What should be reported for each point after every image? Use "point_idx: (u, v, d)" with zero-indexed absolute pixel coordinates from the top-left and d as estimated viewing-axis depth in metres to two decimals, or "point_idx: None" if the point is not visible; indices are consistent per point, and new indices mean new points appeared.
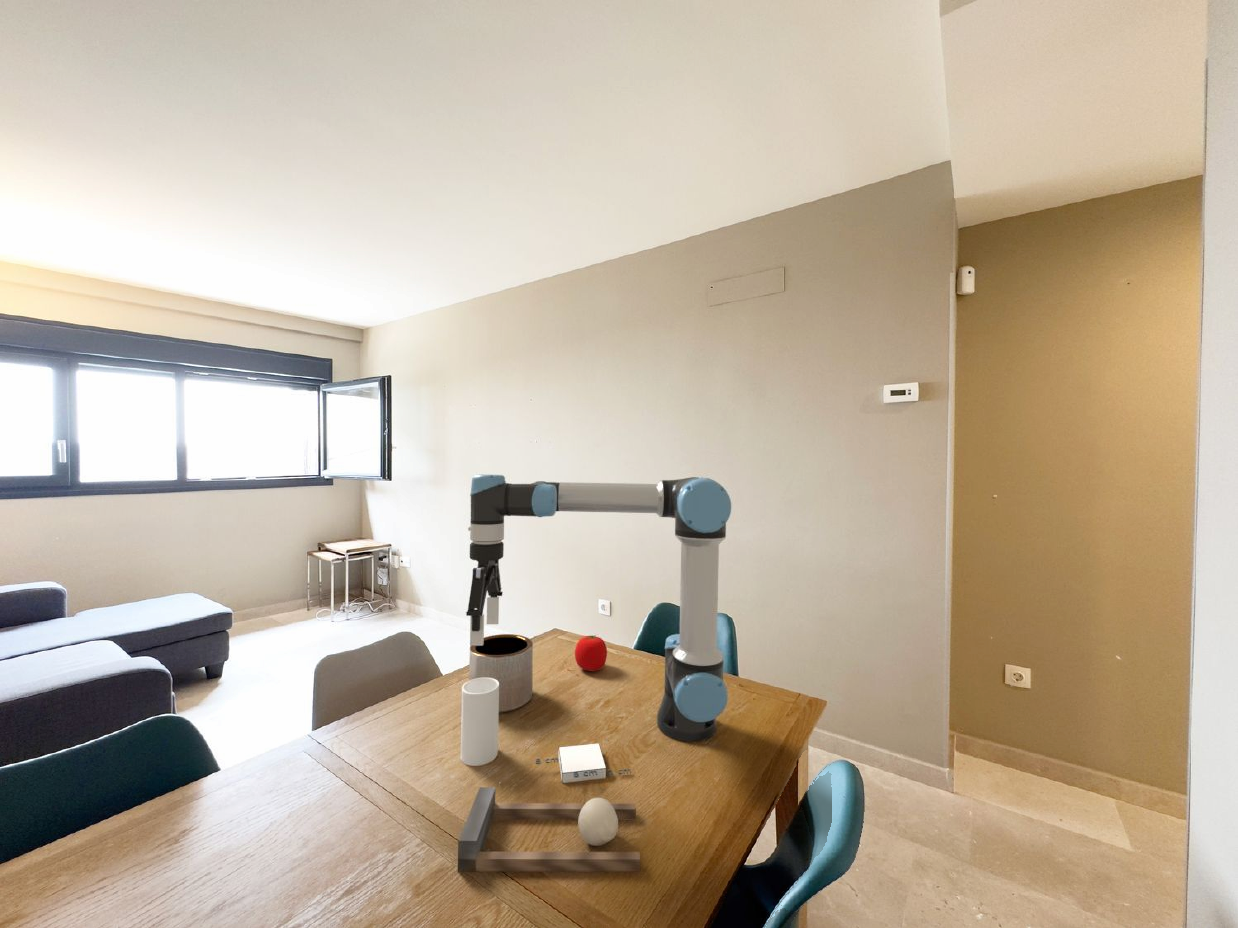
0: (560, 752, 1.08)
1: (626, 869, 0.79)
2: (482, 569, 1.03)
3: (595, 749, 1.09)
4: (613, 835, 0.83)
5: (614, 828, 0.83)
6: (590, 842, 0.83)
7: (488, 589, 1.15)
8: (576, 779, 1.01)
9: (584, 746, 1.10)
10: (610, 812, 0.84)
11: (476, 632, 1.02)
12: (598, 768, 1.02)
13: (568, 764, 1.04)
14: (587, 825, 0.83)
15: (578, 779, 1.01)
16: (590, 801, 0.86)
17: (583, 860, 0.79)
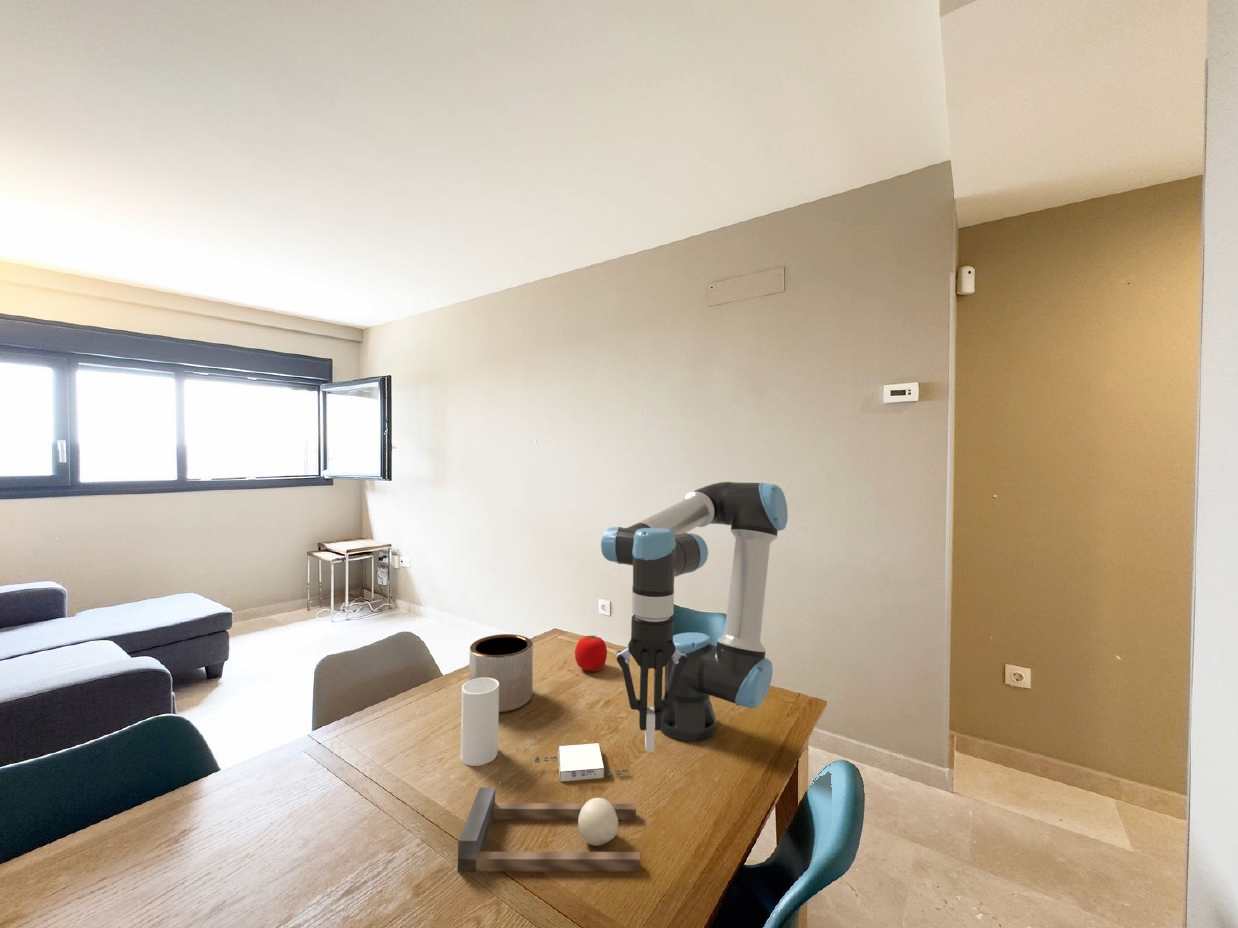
0: (560, 751, 1.08)
1: (626, 869, 0.79)
2: None
3: (595, 749, 1.09)
4: (613, 835, 0.83)
5: (614, 828, 0.83)
6: (590, 842, 0.83)
7: (654, 690, 0.86)
8: (574, 778, 1.01)
9: (584, 745, 1.10)
10: (609, 812, 0.84)
11: (645, 731, 0.85)
12: (596, 767, 1.02)
13: (566, 763, 1.04)
14: (586, 825, 0.83)
15: (576, 778, 1.01)
16: (590, 801, 0.86)
17: (583, 860, 0.79)
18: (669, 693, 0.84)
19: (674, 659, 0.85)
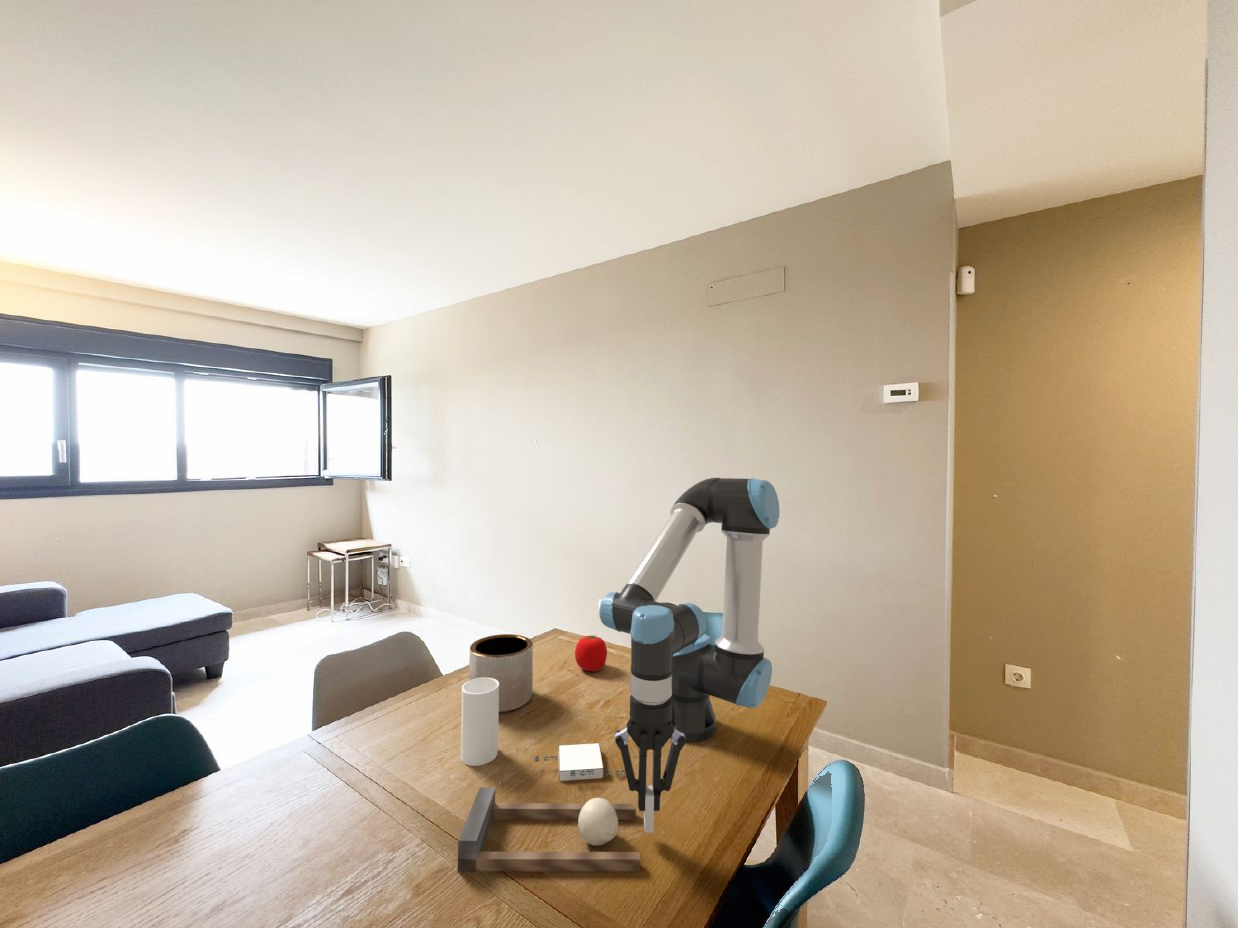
0: (559, 750, 1.08)
1: (626, 869, 0.79)
2: (615, 739, 0.84)
3: (594, 749, 1.09)
4: (613, 835, 0.83)
5: (614, 828, 0.83)
6: (590, 842, 0.83)
7: None
8: (573, 778, 1.01)
9: (584, 745, 1.11)
10: (610, 812, 0.84)
11: (644, 811, 0.85)
12: (596, 767, 1.02)
13: (566, 762, 1.04)
14: (587, 825, 0.83)
15: (575, 778, 1.02)
16: (590, 801, 0.86)
17: (583, 860, 0.79)
18: (668, 774, 0.84)
19: (673, 739, 0.85)
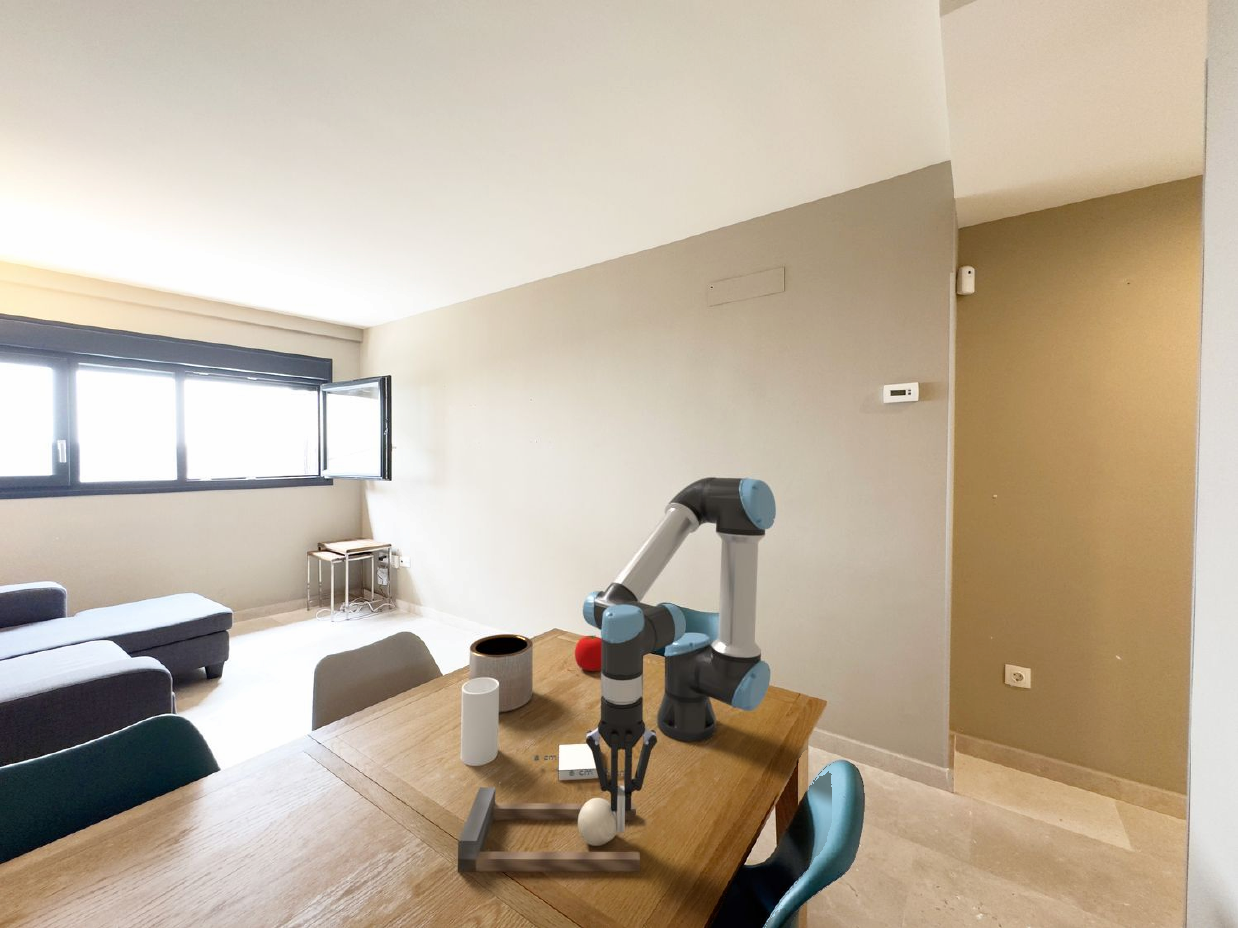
0: (559, 750, 1.09)
1: (626, 869, 0.79)
2: None
3: None
4: (612, 835, 0.83)
5: (613, 828, 0.83)
6: (589, 842, 0.83)
7: (624, 769, 0.86)
8: (572, 777, 1.02)
9: (584, 745, 1.11)
10: (609, 812, 0.84)
11: (617, 811, 0.85)
12: (595, 767, 1.02)
13: (565, 762, 1.04)
14: (586, 825, 0.83)
15: (574, 777, 1.02)
16: (590, 801, 0.86)
17: (583, 860, 0.79)
18: (639, 774, 0.84)
19: (644, 739, 0.85)
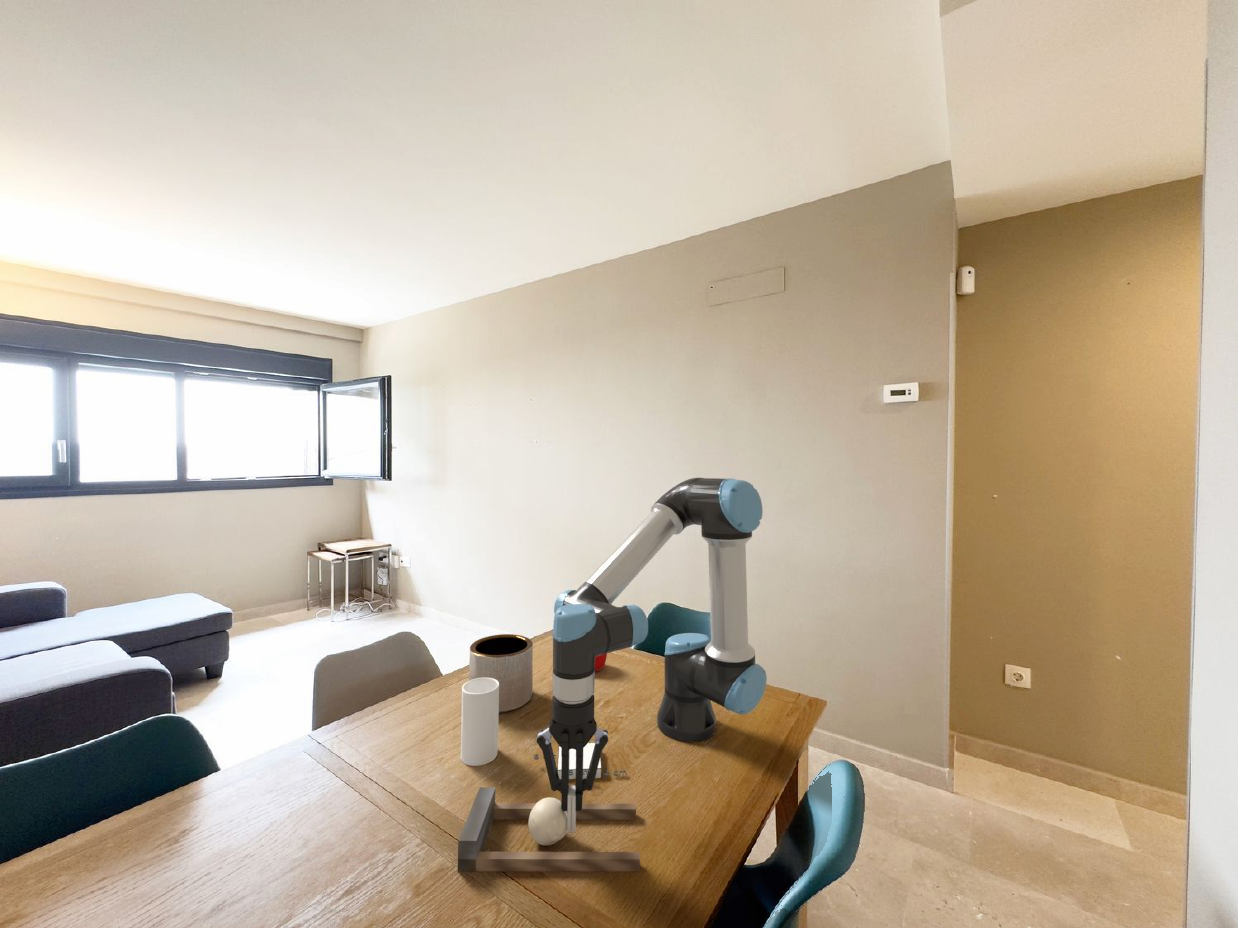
0: (559, 749, 1.09)
1: (626, 869, 0.79)
2: (537, 739, 0.84)
3: None
4: (562, 835, 0.83)
5: (563, 827, 0.83)
6: (539, 842, 0.82)
7: None
8: (571, 777, 1.02)
9: None
10: (559, 812, 0.84)
11: None
12: None
13: None
14: (535, 825, 0.82)
15: (573, 777, 1.02)
16: (541, 801, 0.86)
17: (583, 860, 0.79)
18: (590, 774, 0.84)
19: (595, 738, 0.85)
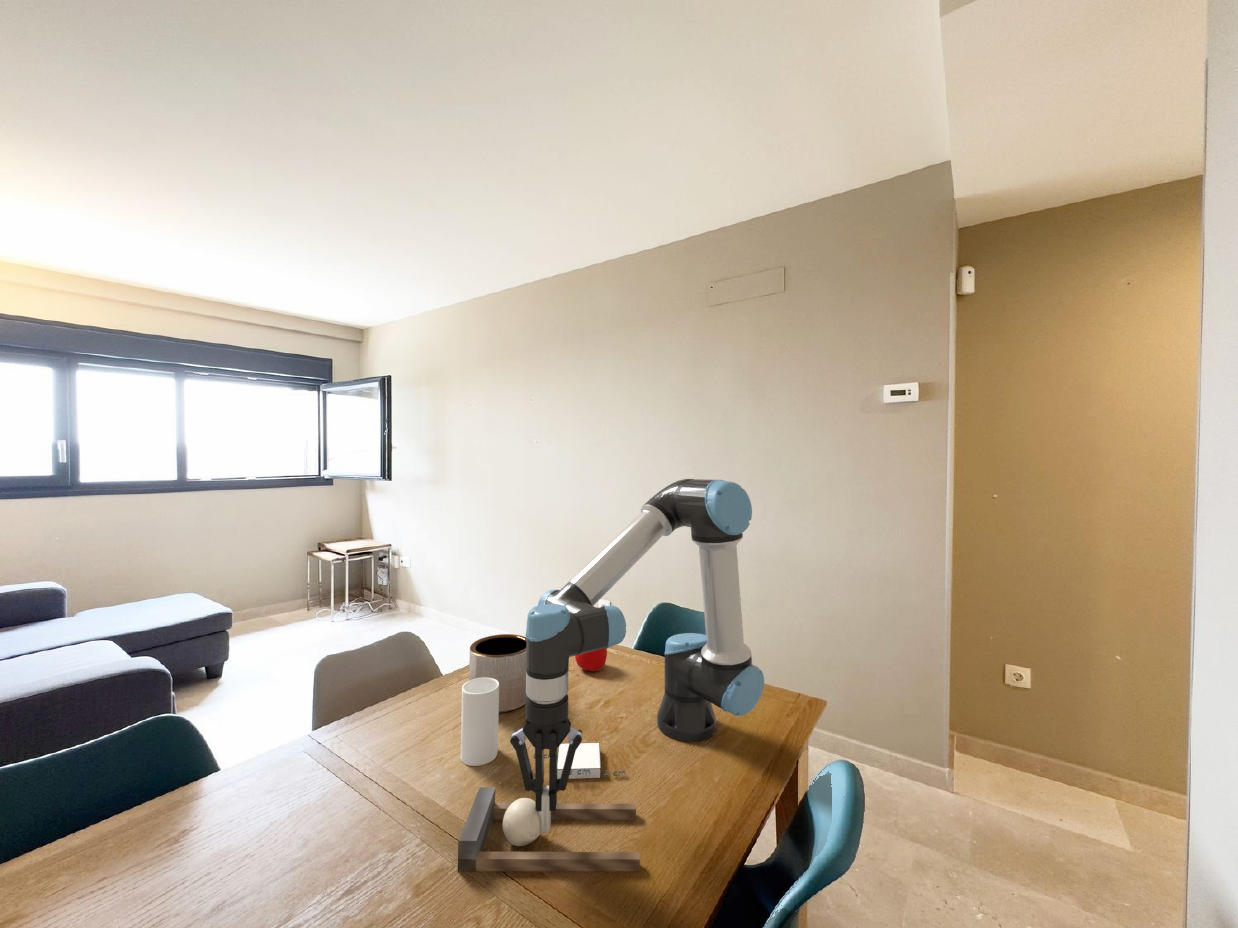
0: (559, 748, 1.09)
1: (626, 869, 0.79)
2: (510, 739, 0.84)
3: (594, 748, 1.09)
4: (536, 835, 0.82)
5: (537, 828, 0.83)
6: (513, 843, 0.82)
7: None
8: (571, 776, 1.02)
9: (584, 744, 1.11)
10: (533, 812, 0.84)
11: None
12: (593, 767, 1.03)
13: (564, 760, 1.05)
14: (509, 826, 0.82)
15: (572, 777, 1.02)
16: (515, 801, 0.86)
17: (583, 860, 0.79)
18: (563, 774, 0.84)
19: (569, 738, 0.85)
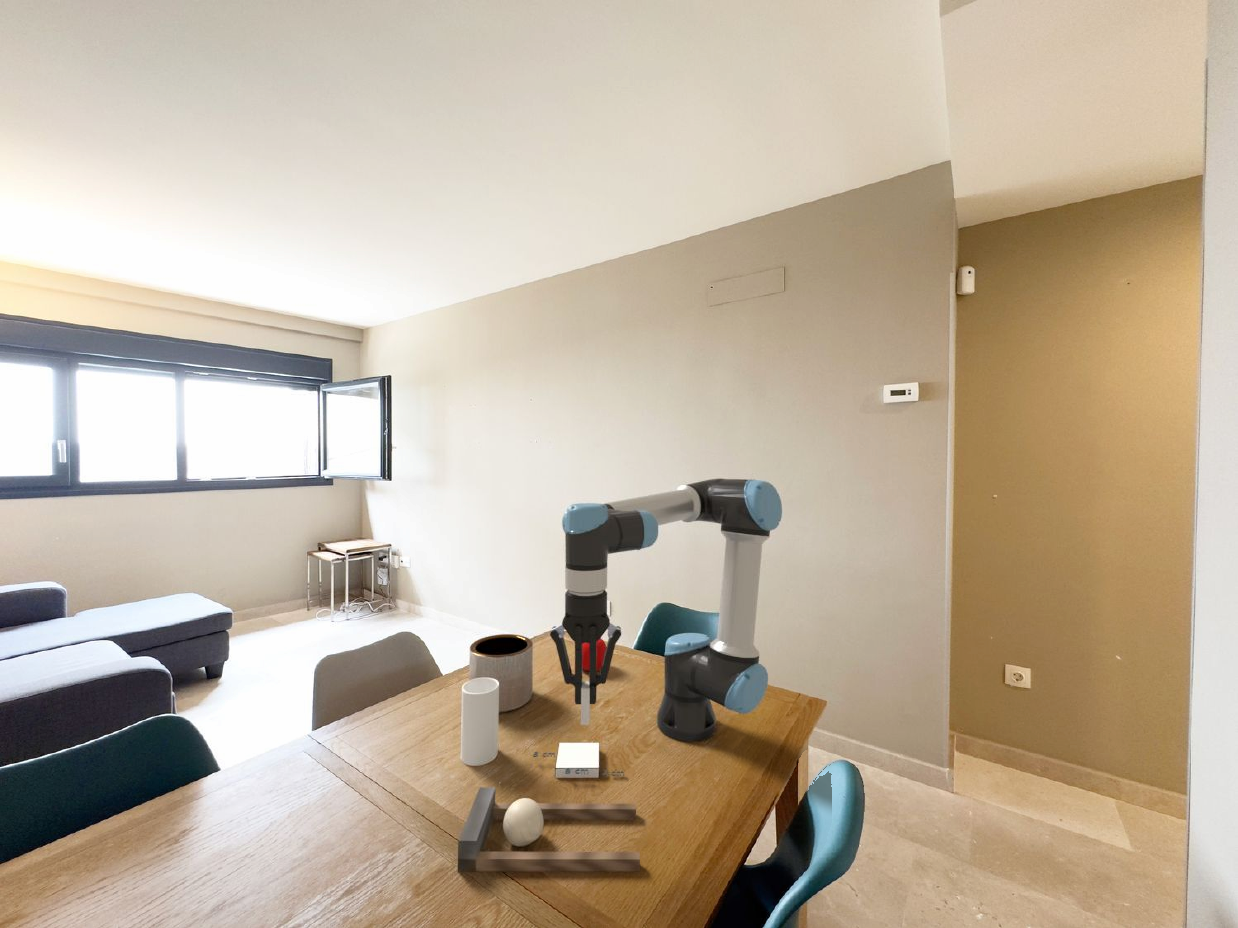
0: (559, 747, 1.09)
1: (626, 869, 0.79)
2: (550, 633, 0.84)
3: (594, 748, 1.09)
4: (537, 835, 0.82)
5: (538, 828, 0.83)
6: (513, 843, 0.82)
7: None
8: (569, 775, 1.02)
9: (584, 744, 1.11)
10: (534, 812, 0.84)
11: None
12: (591, 767, 1.03)
13: (563, 759, 1.05)
14: (510, 826, 0.82)
15: (571, 776, 1.02)
16: (516, 801, 0.86)
17: (583, 860, 0.79)
18: (603, 667, 0.84)
19: (608, 633, 0.85)
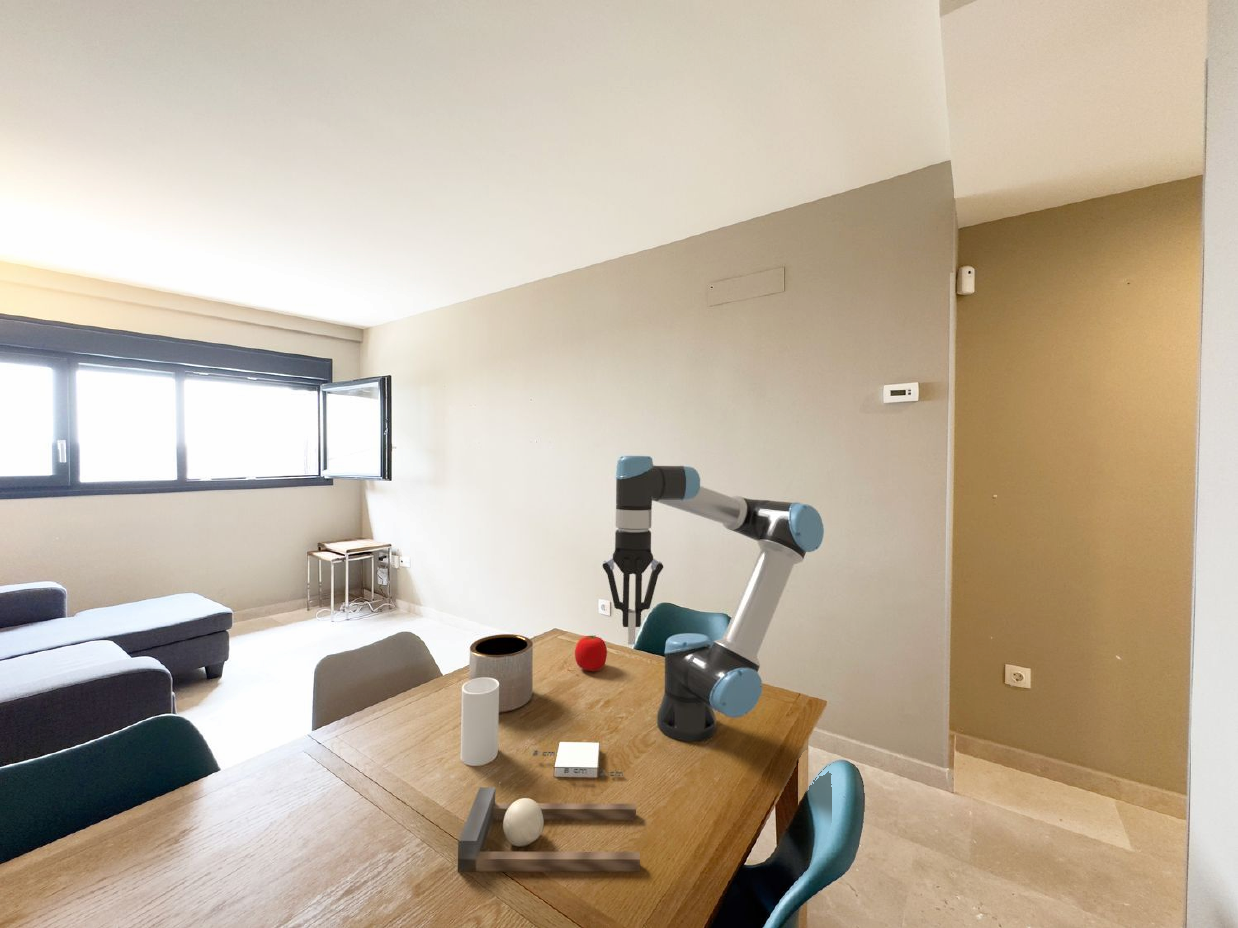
0: (559, 746, 1.10)
1: (626, 869, 0.79)
2: None
3: (593, 748, 1.09)
4: (537, 835, 0.82)
5: (538, 828, 0.83)
6: (513, 843, 0.82)
7: None
8: (568, 775, 1.02)
9: (584, 744, 1.11)
10: (534, 812, 0.84)
11: None
12: (590, 766, 1.03)
13: (562, 759, 1.05)
14: (510, 826, 0.82)
15: (569, 775, 1.02)
16: (516, 801, 0.86)
17: (583, 860, 0.79)
18: (647, 595, 0.98)
19: (652, 566, 0.99)
